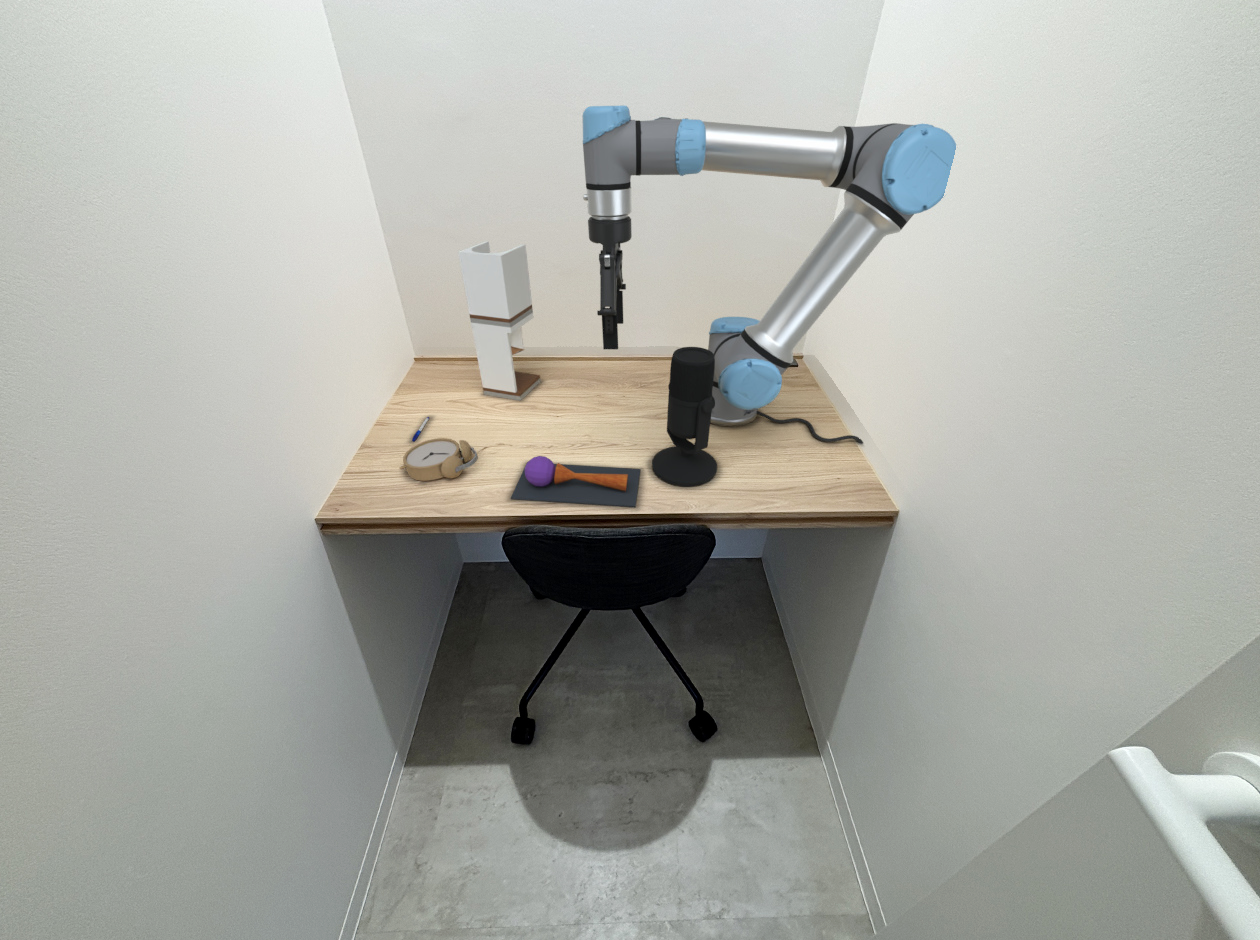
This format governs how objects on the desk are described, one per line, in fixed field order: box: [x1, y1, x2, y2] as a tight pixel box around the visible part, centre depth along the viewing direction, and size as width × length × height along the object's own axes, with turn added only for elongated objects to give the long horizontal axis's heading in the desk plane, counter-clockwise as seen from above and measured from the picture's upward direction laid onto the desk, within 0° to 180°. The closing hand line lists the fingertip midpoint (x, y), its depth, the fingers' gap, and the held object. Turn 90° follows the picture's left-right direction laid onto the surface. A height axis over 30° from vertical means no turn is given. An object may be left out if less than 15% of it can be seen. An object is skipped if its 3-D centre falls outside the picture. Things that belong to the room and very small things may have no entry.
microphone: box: [651, 346, 718, 488], centre depth 98 cm, size 14×14×25 cm
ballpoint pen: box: [411, 416, 430, 443], centre depth 117 cm, size 10×1×1 cm, turn 1°
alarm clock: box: [399, 437, 478, 482], centre depth 104 cm, size 11×5×15 cm
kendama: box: [524, 455, 628, 491], centre depth 98 cm, size 6×6×20 cm
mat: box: [510, 461, 642, 508], centre depth 100 cm, size 24×12×1 cm, turn 84°
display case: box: [457, 241, 541, 401], centre depth 124 cm, size 11×11×35 cm
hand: (614, 335), depth 99 cm, fingers open, 13 cm apart
